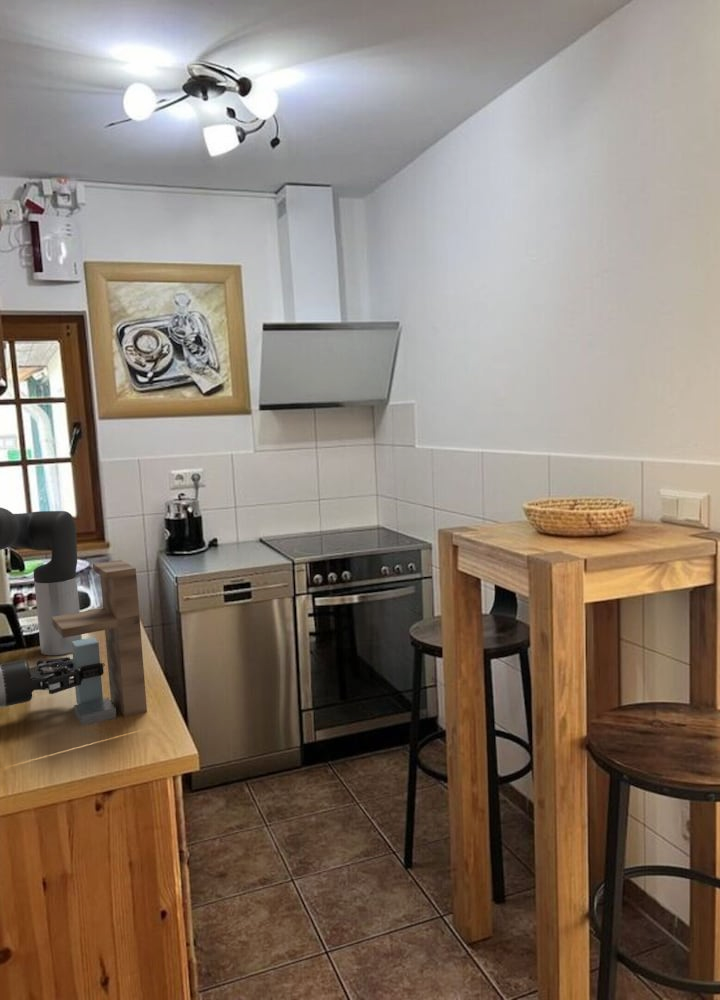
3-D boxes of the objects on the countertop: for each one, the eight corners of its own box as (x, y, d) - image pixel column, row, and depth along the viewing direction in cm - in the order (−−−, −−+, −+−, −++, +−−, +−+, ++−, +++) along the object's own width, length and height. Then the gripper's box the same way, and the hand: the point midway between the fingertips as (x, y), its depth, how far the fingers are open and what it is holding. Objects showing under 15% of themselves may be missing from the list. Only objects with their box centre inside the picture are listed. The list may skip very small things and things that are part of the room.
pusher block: (76, 702, 140) (71, 641, 139) (98, 697, 142) (93, 637, 141) (81, 709, 137) (76, 647, 135) (103, 704, 139) (98, 642, 137)
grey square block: (75, 718, 136) (74, 705, 135) (109, 710, 139) (108, 697, 138) (82, 729, 131) (80, 716, 130) (116, 721, 134) (115, 707, 133)
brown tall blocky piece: (60, 713, 137) (47, 570, 134) (131, 696, 144) (120, 559, 141) (71, 732, 129) (57, 579, 125) (147, 713, 136) (135, 568, 132)
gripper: (3, 676, 124) (107, 655, 133) (-7, 654, 136) (89, 637, 145) (7, 719, 125) (110, 695, 134) (-3, 693, 137) (92, 673, 146)
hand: (99, 665), depth 140 cm, fingers closed on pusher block, 4 cm apart
